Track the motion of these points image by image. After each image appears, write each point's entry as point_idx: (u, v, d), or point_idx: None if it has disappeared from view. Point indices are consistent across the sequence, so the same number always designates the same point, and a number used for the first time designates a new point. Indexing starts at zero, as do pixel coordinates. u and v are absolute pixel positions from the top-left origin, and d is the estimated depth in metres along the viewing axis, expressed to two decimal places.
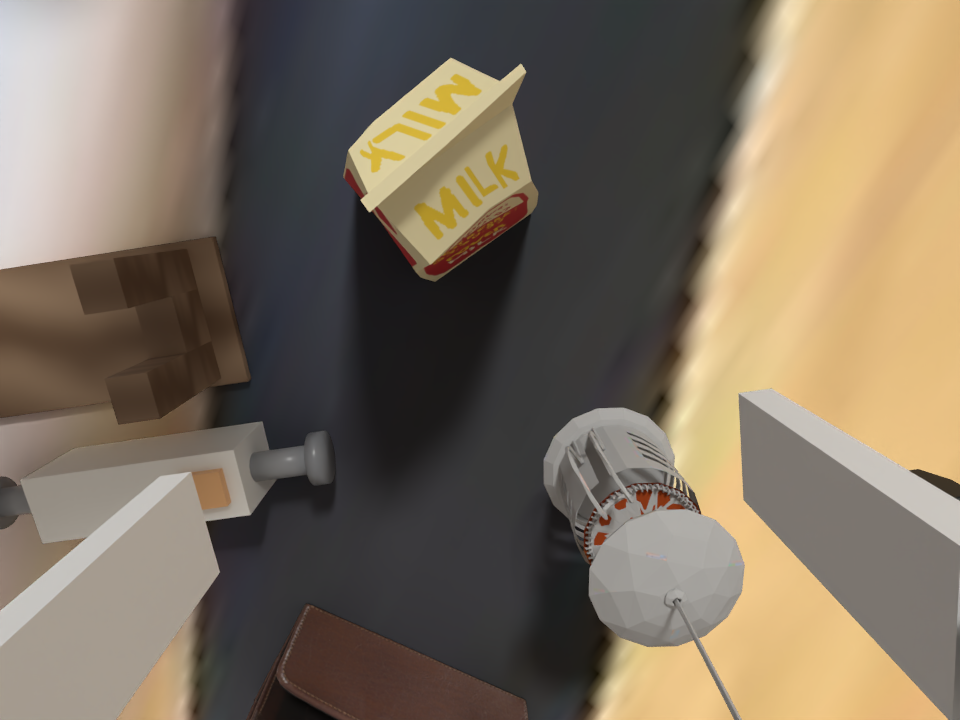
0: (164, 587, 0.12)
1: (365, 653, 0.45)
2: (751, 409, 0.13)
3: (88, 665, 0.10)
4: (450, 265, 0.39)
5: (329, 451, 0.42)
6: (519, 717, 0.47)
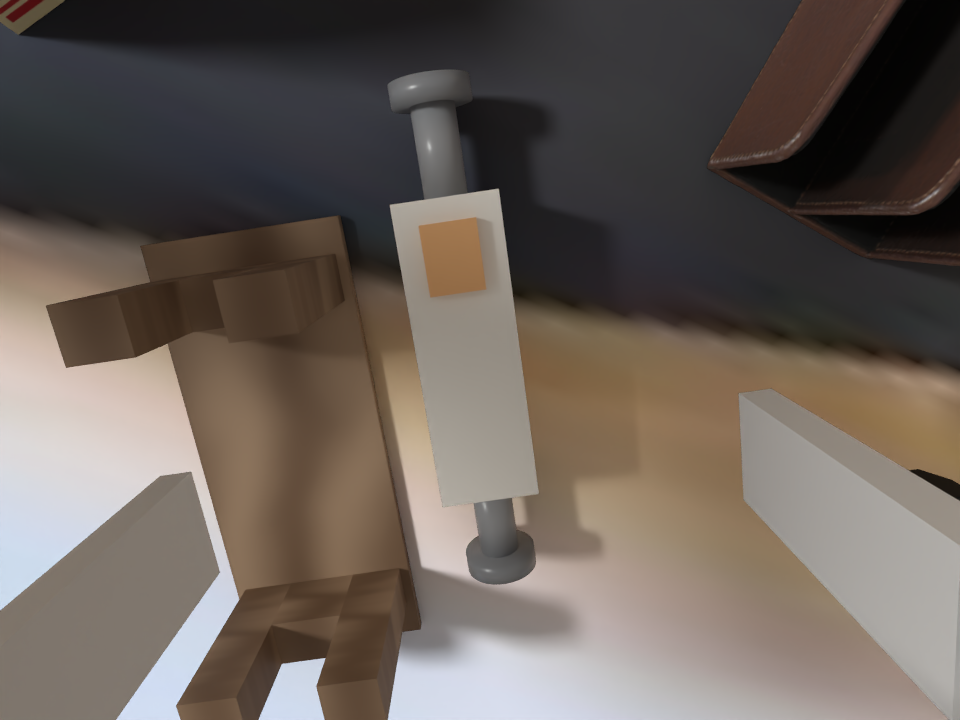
0: (163, 588, 0.12)
1: (795, 46, 0.27)
2: (750, 409, 0.13)
3: (88, 665, 0.10)
4: None
5: None
6: None
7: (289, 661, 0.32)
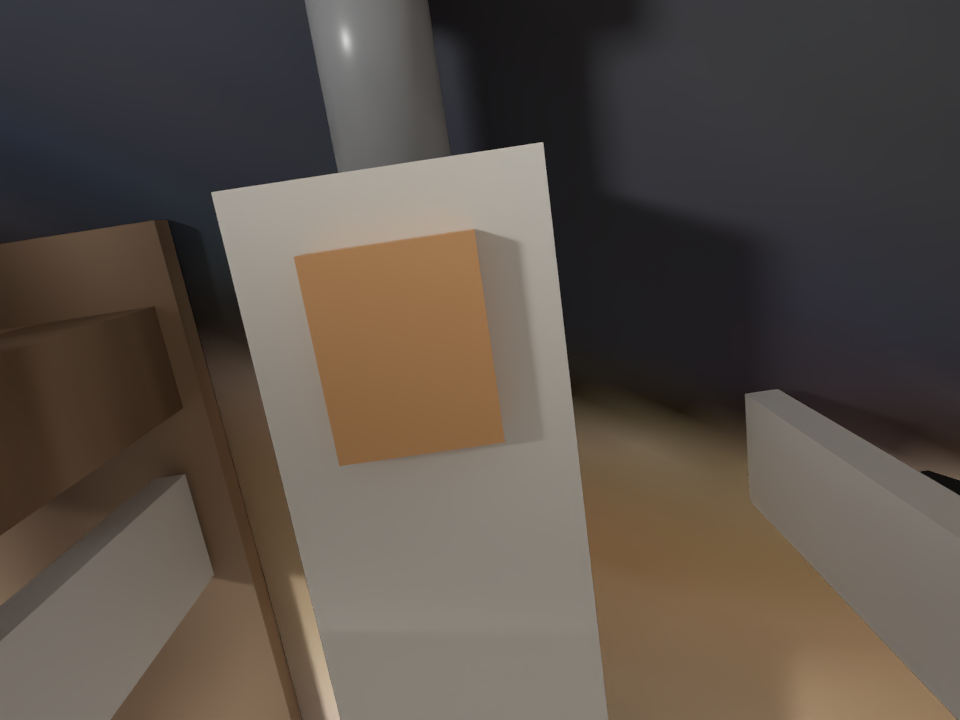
0: (157, 591, 0.12)
1: None
2: (757, 410, 0.13)
3: (78, 670, 0.10)
4: None
5: None
6: None
7: None
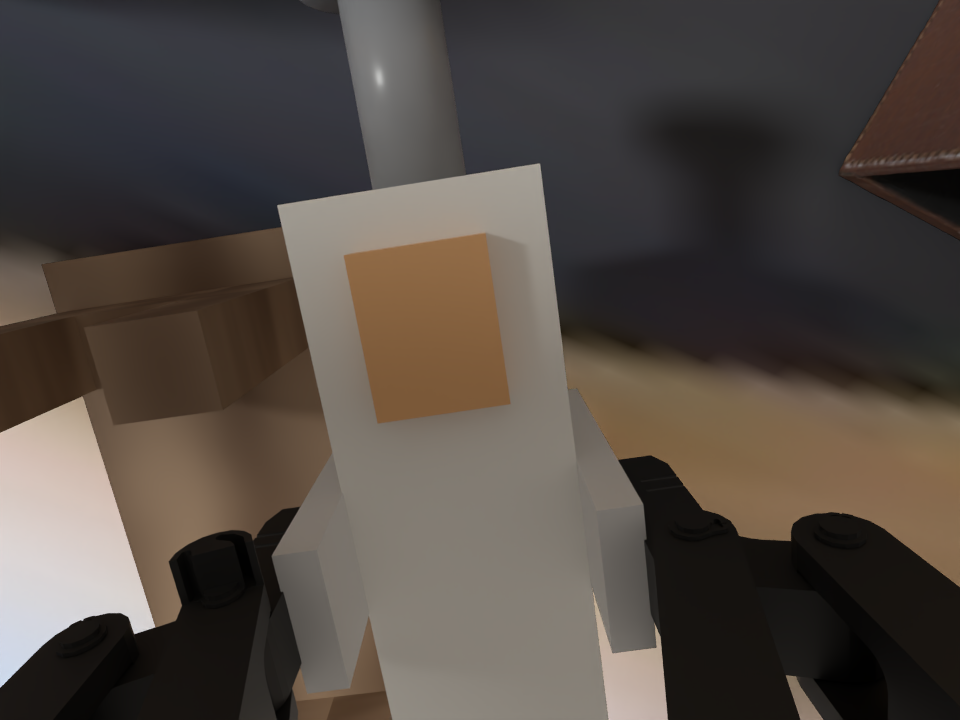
0: None
1: None
2: None
3: (356, 560, 0.12)
4: None
5: None
6: None
7: None
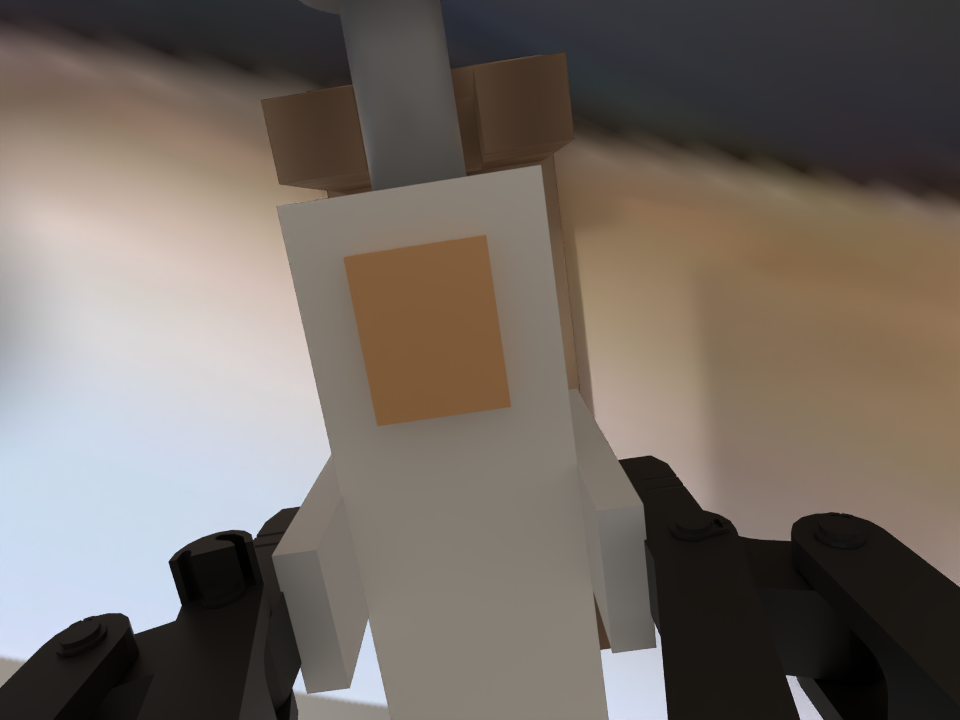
0: None
1: None
2: None
3: (356, 560, 0.12)
4: None
5: None
6: None
7: None
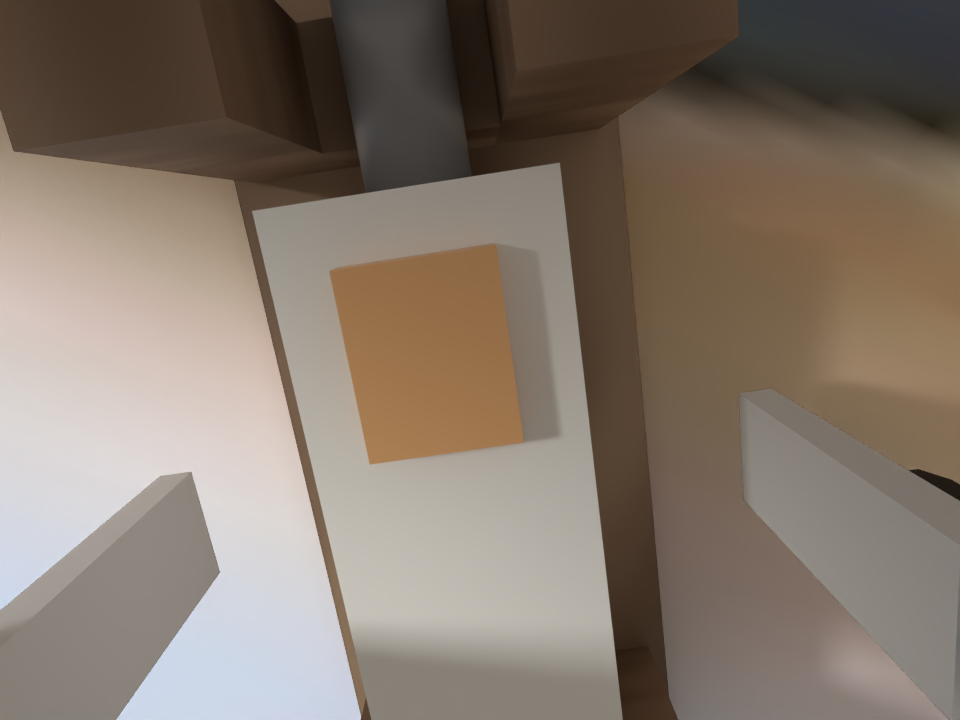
0: (164, 587, 0.12)
1: None
2: (751, 409, 0.13)
3: (88, 665, 0.10)
4: None
5: None
6: None
7: None
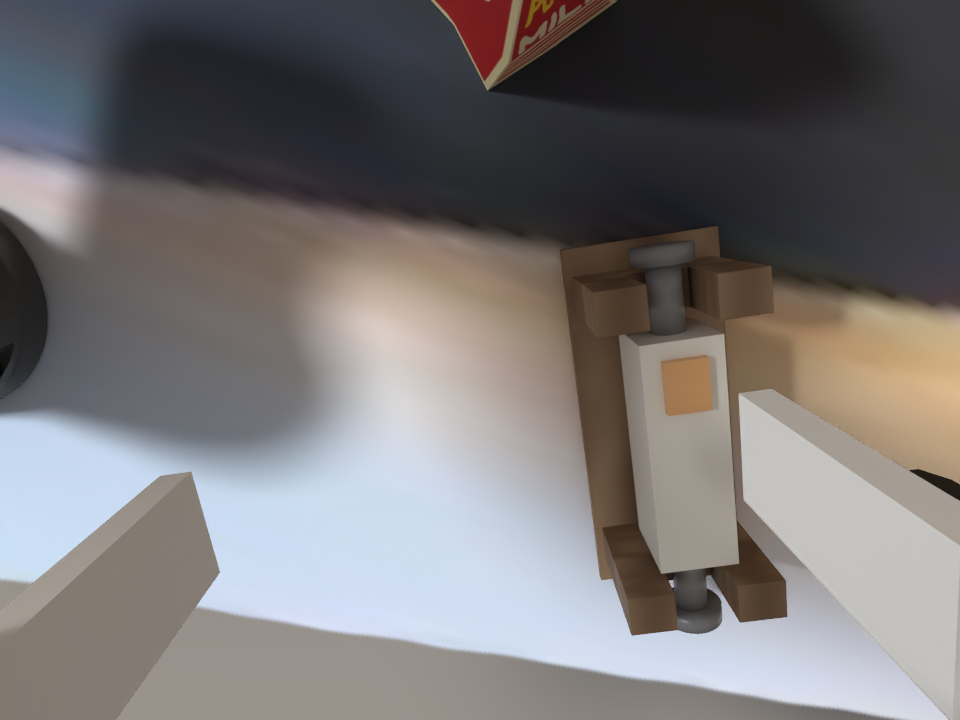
0: (164, 587, 0.12)
1: None
2: (751, 409, 0.13)
3: (88, 665, 0.10)
4: None
5: (655, 245, 0.35)
6: None
7: None
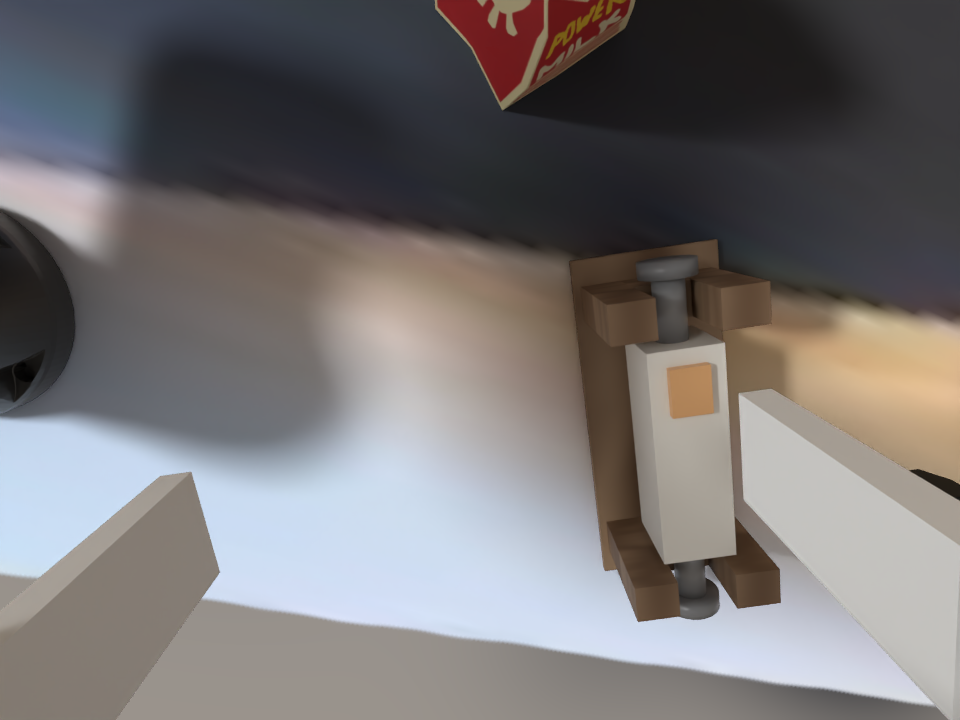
0: (163, 588, 0.12)
1: None
2: (751, 409, 0.13)
3: (88, 665, 0.10)
4: None
5: (661, 258, 0.37)
6: None
7: None
